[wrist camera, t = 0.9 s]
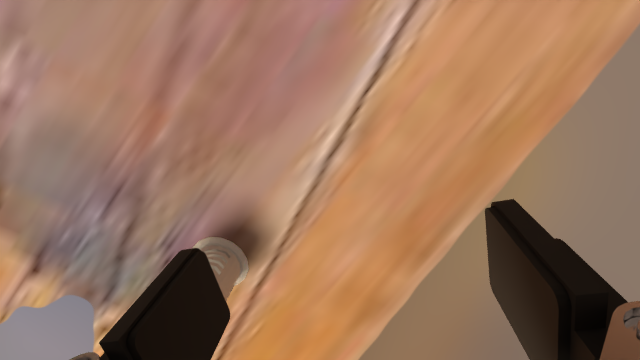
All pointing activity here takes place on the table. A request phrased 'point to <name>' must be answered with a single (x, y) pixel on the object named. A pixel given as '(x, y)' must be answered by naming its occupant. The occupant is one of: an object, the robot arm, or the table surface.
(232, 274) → the french press
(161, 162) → the table surface
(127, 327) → the robot arm
